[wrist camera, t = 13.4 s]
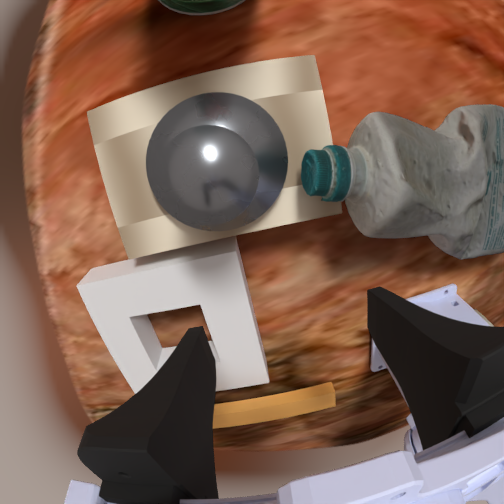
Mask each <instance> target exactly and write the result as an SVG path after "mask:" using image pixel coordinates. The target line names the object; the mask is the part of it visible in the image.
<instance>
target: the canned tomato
mask: <svg viewBox="0 0 504 504" xmlns="http://www.w3.org/2000/svg"><path fill="white" fill-rule="evenodd" d="M158 1H159V2H160V3H161V4H162V5H164V6H165V7H167V8H169V9H170V10H173V11H175V12H178V13H182V14H187V15H210V14H216V13H220V12H224V11H226V10H229V9H232V8H234V7H236V6H237V5H239V4H241V3H243V2H244V1H245V0H158Z"/></svg>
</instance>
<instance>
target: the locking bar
mask: <svg viewBox="0 0 504 504" xmlns="http://www.w3.org/2000/svg"><path fill="white" fill-rule="evenodd" d="M334 406H335V390H334V388H333V385H332V382H328V383H325V384H321V385H317V386H312V387H308V388H304V389H299V390H295V391H290V392H285V393H280V394H275V395H270V396H265V397H259V398H253V399H247V400H241V401H234V402H227V403H220V404H214V415H213V429H214V428H223V427H231V426H239V425H246V424H253V423H259V422H265V421H271V420H276V419H282V418H287V417H292V416H296V415H301V414H305V413H310V412H314V411H318V410H322V409H326V408H330V407H334Z"/></svg>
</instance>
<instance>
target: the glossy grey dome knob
mask: <svg viewBox="0 0 504 504" xmlns="http://www.w3.org/2000/svg"><path fill="white" fill-rule="evenodd" d="M287 170H288V152H287V147H286V142H285V140H284V137H283V134H282V132H281V130H280V128H279V126H278V125H277V123H276V122H275V120H274V119H273V118H272V117H271V115H270V114H269V113H268V112H267V111H266V110H264V109H263V108H262V107H261V106H260V105H258V104H256V103H255V102H253V101H251V100H249V99H247V98H245V97H243V96H239V95H236V94H232V93H225V92H211V93H203V94H200V95H196V96H193V97H190V98H188V99H186V100H184V101H182V102H180V103H179V104H177V105H176V106H174V107H173V108H172V109H170V110H169V111H168V112H167V113H166V114H165V115H164V116H163V117H162V119H161V120H160V121H159V123H158V124H157V126H156V127H155V129H154V131H153V133H152V135H151V138H150V140H149V144H148V147H147V153H146V172H147V178H148V181H149V185H150V187H151V190H152V192H153V194H154V196H155V197H156V199H157V201H158V202H159V203H160V205H161V206H162V207H163V208H164V209H165V210H166V211H167V212H168V213H169V214H170V215H171V216H172V217H174V218H175V219H176V220H178V221H180V222H182V223H183V224H185V225H188V226H190V227H193V228H196V229H200V230H205V231H228V230H232V229H237V228H239V227H242V226H245V225H247V224H249V223H251V222H253V221H254V220H256V219H257V218H259V217H260V216H262V215H263V214H264V213H265V212H266V211H267V210H268V209H269V208H270V207H271V206H272V205H273V203H274V202H275V200H276V199H277V198H278V196H279V194H280V192H281V190H282V188H283V185H284V182H285V180H286V175H287Z"/></svg>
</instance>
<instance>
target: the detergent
mask: <svg viewBox="0 0 504 504" xmlns="http://www.w3.org/2000/svg"><path fill="white" fill-rule="evenodd" d="M301 180H302V186H303V188H304V190H305V192H306V194H307V195H309V196H322V199H321V201H326V202H338V201H344V200H345V204H346V206H347V209H348V213H349V215H350V217H351V218H352V221H353V223H354V224H355V226H356V227H357V228H358V230H359V231H360V232H361V233H362V234H363V235H365V236H367V237H372V238H410V237H419V236H429V238H430V240H431V241H432V242H433V243H434V245H435V246H437V247H438V248H440V249H441V250H442V251H444V252H445V253H447V254H449V255H451V256H454V257H456V258H458V259H467V258H476V257H478V256H484V255H492V254H498V253H503V252H504V107H500V106H497V105H491V104H489V105H468V106H462V107H459V108H456V109H455V110H453V111H452V112H451V113H450V114H448V115H447V116H446V118H445V119H444V121H443V123H442V124H441V125H440V126H439V127H438V128H437V129H436V130H435V131H433V130H431V129H429V128H427V127H424V126H422V125H419V124H417V123H415V122H412V121H410V120H408V119H405V118H402V117H400V116H396V115H392V114H389V113H384V112H374V113H370V114H368V115H367V116H366V117H365V118H364V119H363V120H362V121H361V122H360V124H358V125H357V127H356V128H355V130H354V132H353V134H352V135H351V137H350V140H349V143H348V146H347V148H346V147H344V146H337V145H327V146H325V147H324V148H323V149H322V150H314V149H310V150H308V151H306V153H305V154H304V157H303V160H302V163H301Z"/></svg>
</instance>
